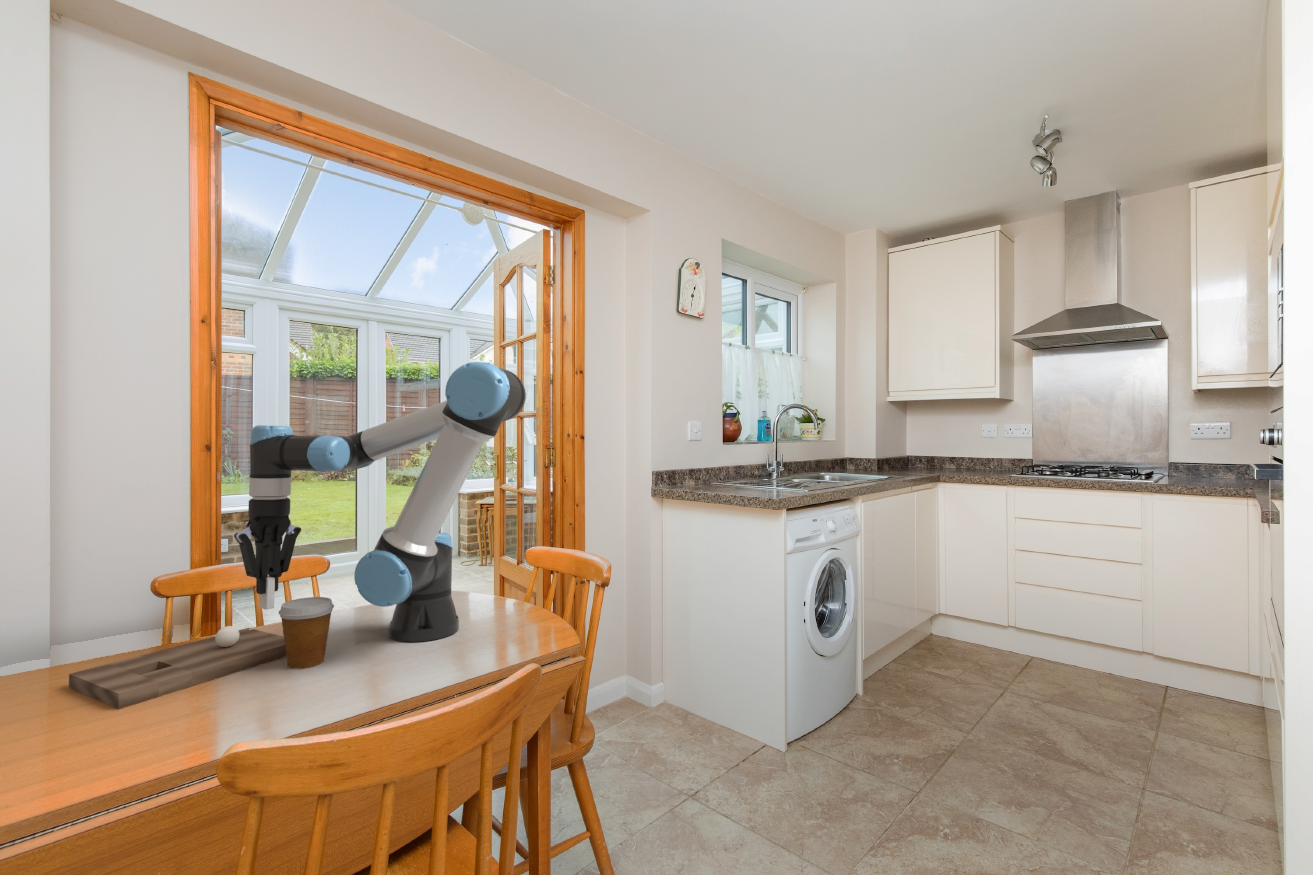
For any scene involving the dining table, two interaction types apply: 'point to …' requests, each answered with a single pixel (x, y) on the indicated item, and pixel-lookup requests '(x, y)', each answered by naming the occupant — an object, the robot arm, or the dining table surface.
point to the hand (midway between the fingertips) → (266, 607)
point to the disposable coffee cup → (306, 630)
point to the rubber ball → (227, 636)
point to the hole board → (175, 668)
